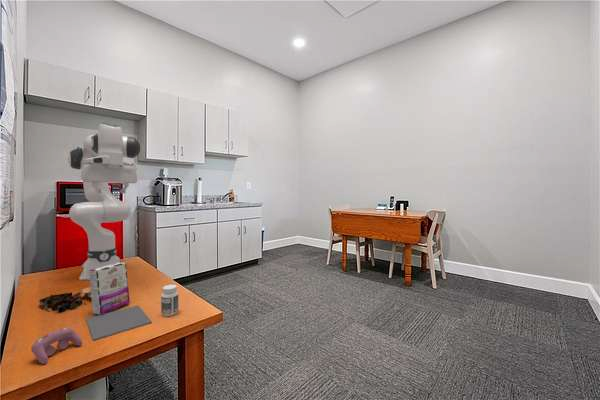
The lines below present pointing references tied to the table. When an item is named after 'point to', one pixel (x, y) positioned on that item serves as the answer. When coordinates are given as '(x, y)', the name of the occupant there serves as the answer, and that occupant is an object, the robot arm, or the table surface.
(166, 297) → the pill bottle
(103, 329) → the mat
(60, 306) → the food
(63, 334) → the video game controller
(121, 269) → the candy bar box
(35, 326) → the table surface
